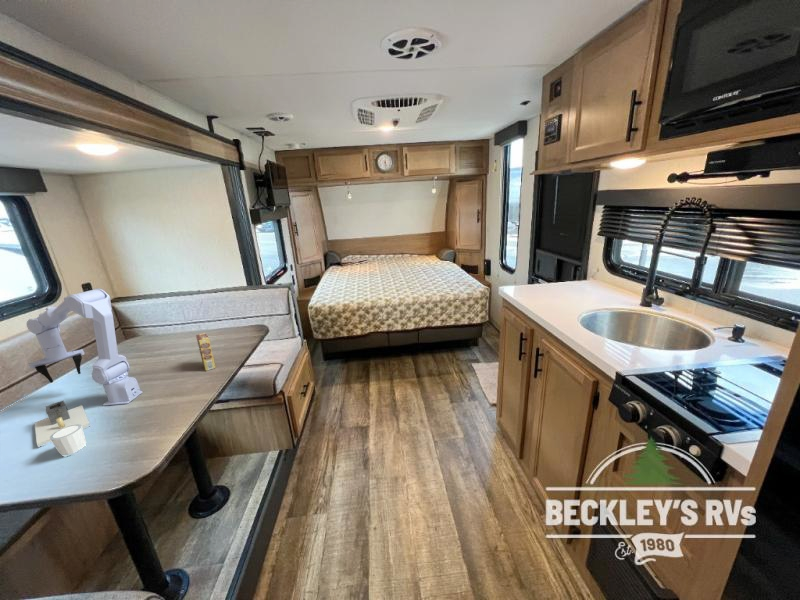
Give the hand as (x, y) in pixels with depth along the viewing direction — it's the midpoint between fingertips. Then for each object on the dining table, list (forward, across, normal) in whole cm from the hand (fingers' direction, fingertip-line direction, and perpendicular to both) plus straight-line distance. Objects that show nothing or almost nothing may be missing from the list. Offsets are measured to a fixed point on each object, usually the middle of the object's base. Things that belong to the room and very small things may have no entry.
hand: (65, 377), depth 122 cm
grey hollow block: (+8, +5, +19) cm, 21 cm away
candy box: (+10, -44, +20) cm, 49 cm away
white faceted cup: (+10, +4, +44) cm, 45 cm away
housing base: (+9, +5, +23) cm, 25 cm away
